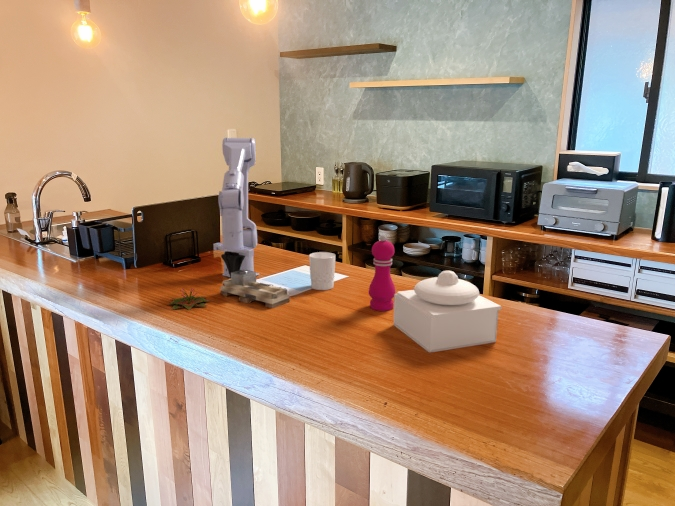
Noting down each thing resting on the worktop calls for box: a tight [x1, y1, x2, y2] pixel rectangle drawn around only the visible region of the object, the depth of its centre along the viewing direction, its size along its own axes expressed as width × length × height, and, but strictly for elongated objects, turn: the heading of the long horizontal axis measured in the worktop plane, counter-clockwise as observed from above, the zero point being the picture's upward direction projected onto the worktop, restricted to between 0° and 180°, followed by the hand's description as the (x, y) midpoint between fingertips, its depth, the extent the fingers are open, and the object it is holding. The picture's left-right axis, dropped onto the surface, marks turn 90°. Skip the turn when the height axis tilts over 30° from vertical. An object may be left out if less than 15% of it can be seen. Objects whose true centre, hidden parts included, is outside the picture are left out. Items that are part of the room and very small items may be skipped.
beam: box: [220, 278, 290, 309], centre depth 151 cm, size 20×9×4 cm, turn 54°
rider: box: [230, 269, 257, 286], centre depth 153 cm, size 5×5×5 cm
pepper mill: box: [368, 234, 396, 312], centre depth 142 cm, size 7×7×20 cm
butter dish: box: [393, 270, 502, 353], centre depth 125 cm, size 18×18×16 cm
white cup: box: [308, 251, 336, 291], centre depth 161 cm, size 8×8×10 cm
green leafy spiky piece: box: [167, 287, 210, 311], centre depth 146 cm, size 12×12×5 cm
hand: (234, 277), depth 155 cm, fingers closed
